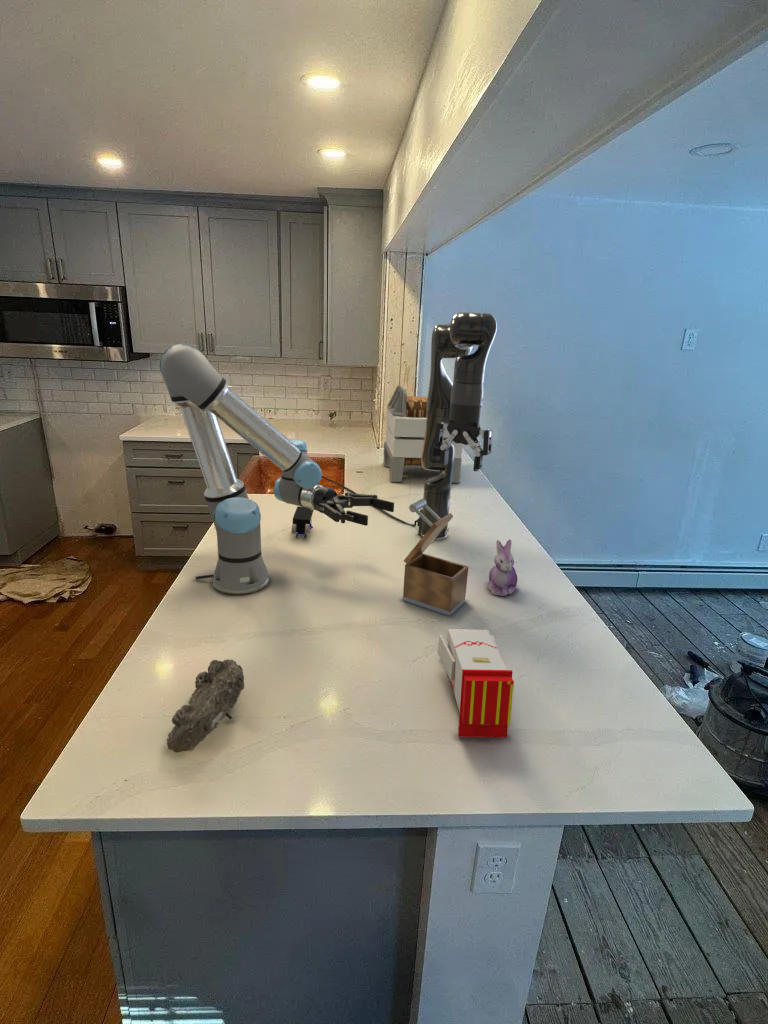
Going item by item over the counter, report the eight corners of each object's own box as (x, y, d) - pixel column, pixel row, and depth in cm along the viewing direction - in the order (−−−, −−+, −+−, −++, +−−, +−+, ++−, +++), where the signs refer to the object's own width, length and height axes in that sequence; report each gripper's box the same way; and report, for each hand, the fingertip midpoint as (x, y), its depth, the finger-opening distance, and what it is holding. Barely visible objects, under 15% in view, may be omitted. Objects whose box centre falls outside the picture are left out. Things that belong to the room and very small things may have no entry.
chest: (465, 601, 156) (468, 566, 152) (449, 615, 148) (453, 579, 144) (419, 586, 162) (421, 553, 159) (402, 600, 155) (404, 564, 151)
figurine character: (310, 544, 191) (314, 524, 204) (310, 524, 187) (314, 505, 201) (290, 544, 190) (296, 523, 204) (290, 524, 187) (295, 504, 200)
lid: (453, 516, 150) (428, 492, 152) (437, 526, 142) (410, 501, 145) (423, 552, 158) (399, 529, 161) (406, 564, 151) (382, 539, 153)
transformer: (382, 463, 289) (386, 382, 275) (445, 464, 293) (451, 384, 279) (390, 482, 257) (394, 392, 243) (460, 483, 261) (468, 394, 247)
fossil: (192, 660, 117) (244, 628, 112) (224, 691, 120) (276, 661, 115) (142, 746, 98) (202, 712, 93) (182, 779, 101) (242, 748, 96)
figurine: (500, 600, 157) (506, 550, 151) (478, 584, 165) (483, 536, 160) (526, 593, 161) (533, 545, 156) (503, 578, 169) (509, 532, 164)
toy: (488, 613, 130) (523, 677, 101) (484, 667, 133) (517, 744, 104) (435, 612, 130) (455, 676, 101) (432, 666, 133) (451, 743, 103)
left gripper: (344, 499, 178) (402, 514, 168) (292, 522, 158) (354, 540, 148) (344, 476, 176) (403, 490, 165) (291, 496, 156) (355, 513, 145)
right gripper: (432, 399, 135) (427, 465, 140) (488, 407, 128) (481, 476, 134) (446, 396, 141) (441, 459, 146) (500, 403, 134) (493, 469, 140)
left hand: (380, 513), depth 157 cm, fingers open, 13 cm apart
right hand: (460, 467), depth 140 cm, fingers open, 8 cm apart
